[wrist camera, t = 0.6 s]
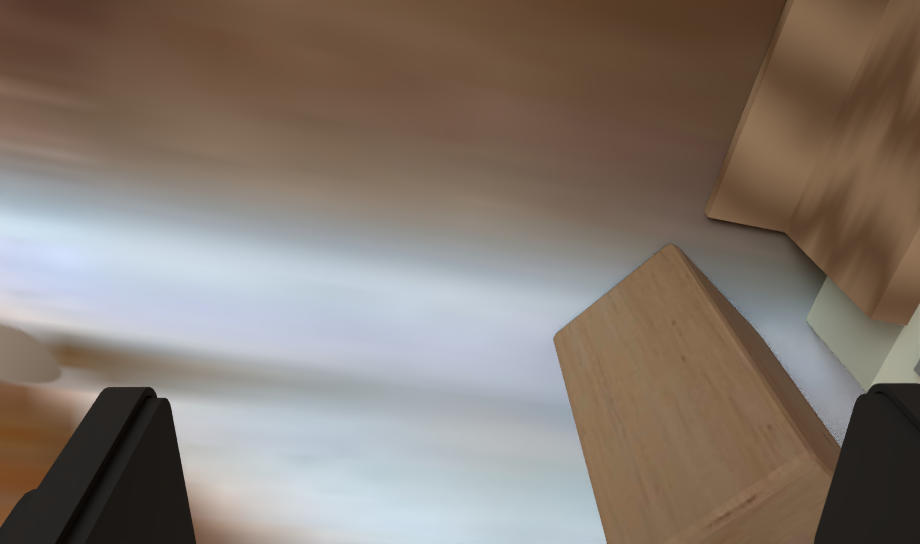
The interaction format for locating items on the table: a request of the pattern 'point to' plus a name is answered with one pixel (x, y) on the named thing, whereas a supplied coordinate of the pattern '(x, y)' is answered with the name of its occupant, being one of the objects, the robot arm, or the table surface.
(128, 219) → the table surface
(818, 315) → the cabinet
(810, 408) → the wooden block
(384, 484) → the table surface
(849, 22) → the brown box
